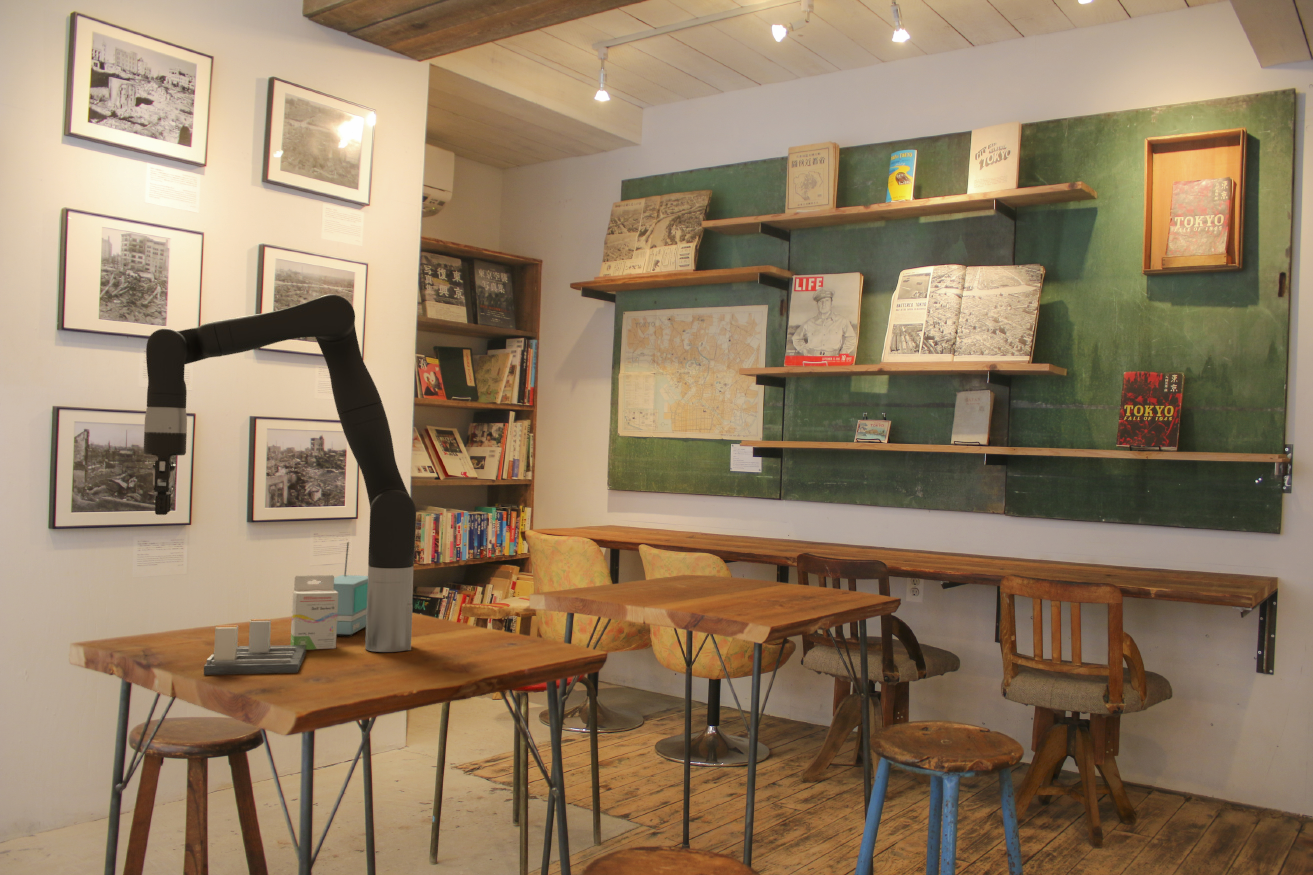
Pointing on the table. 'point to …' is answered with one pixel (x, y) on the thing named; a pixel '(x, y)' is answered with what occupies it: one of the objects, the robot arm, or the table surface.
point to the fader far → (259, 635)
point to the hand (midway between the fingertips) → (162, 513)
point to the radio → (351, 602)
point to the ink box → (314, 612)
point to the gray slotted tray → (259, 661)
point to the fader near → (226, 642)
